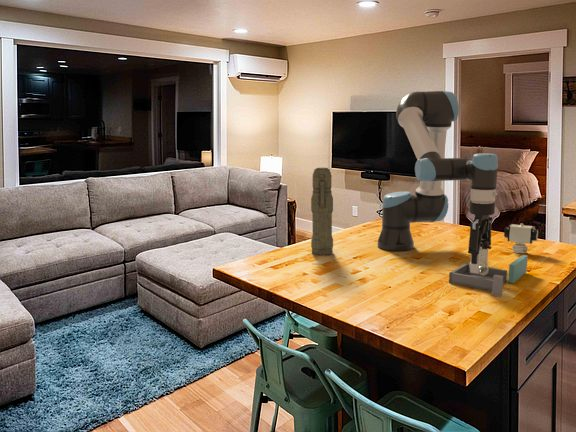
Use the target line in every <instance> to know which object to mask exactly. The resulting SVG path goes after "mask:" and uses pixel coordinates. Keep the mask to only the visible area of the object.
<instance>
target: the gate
mask: <svg viewBox="0 0 576 432" xmlns="http://www.w3.org/2000/svg"><path fill="white" fill-rule="evenodd" d="M528 256H529V255H525V254H522V255H520V256H519V257H518V258H516V259H515V260H514V261H512V262H510V264H508V266H509V267H508V276H507V283H510V284H514V283H515V282H516V281H518V280H519V279H520V278H522V277H523V276H524V275H525V274H526V273H527V270H528V269H527V268H528V259H529V258H528Z"/></svg>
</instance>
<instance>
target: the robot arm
mask: <svg viewBox="0 0 576 432" xmlns="http://www.w3.org/2000/svg"><path fill="white" fill-rule="evenodd" d="M459 107H460V106H459V101H458V98H457V96H456V94H455V93H454V92H451V91H446V90H433V91H432V90H431V91H420V90H419V91H412V92H410V93H408V94H407V95H405V96H404V97H402V98H401V100H400V101H399V103H398V105H397V107H396V112H395V113H396V114H395V115H396V120H397V123H398V124H399V126H400V127H402V128H403V130H404V132H405V135H406V136H407V139H408V141H409V143H410V144H409V145H410V146H411V148H412V151H413V152H414V155H415V158H416V159H417V160H416V162H415V164H414V165H415V166H414V173H415V177H416V179H417V180H418V181H419V186H418V187H417V188H415V191H414V192H415V194H412V193H411V191H406V190H405V191H395V192H394V191H393V192H391V193H390V192H389V193H387V194H385V195H384V196H383V198H382V205H381V207H382V209H381V210H382V213H381V215H382V217H381V221H382V222H381V231H380V233H379V236H378V239H377V247H378V248H379V249H382V250H386V251H392V252H405V251H410V250H413V249H414V247H415V244H414V242H415V241H414V238H413V235H412V232H411V223H434V222H441V221H443V220H444V219H445V218H446V217H447V213H448V211H449V198H448V196H447V195H446V194H445V191H444V189H442V182H443V181H446V182H447V181H471V182H470V183H471V184H470V197H469V200H470V203H469V213H470V214H471V215H474V219H473V222H470V223H469V228H470V229H469V230H470V231H469V239H468V251H467V254H470V261H469V264H470V273H475V274H479V265H480V254H479V250H480V245H481V239H482V237H485V238H490V240H491V241H492V222H493V217H492V215H494V214H495V212H496V203H495V201H496V196H498V192H497V183H498V181H497V180H498V169H499V164H498V161H499V159H498V155H497V154H496V153H488V152H487V153H486V152H485V153H483V152H482V153H481V152H479V153H475V154H473V156H472V157H471V156H464V157H456V158H454V157H451V158H449V157H448V158H447V157H446V158H445V151H446V144H447V143H446V142H447V131H448V130H450V129H451V127H452V123H454V122H455V121H457V120H458V118H459V110H460V108H459ZM491 245H492V242H491V243H488V242H486V244H484V246H483V247H482V249H483V254H481V255H483V257H484V261H483V263H484V264H485V266H487V267H488V257H489V250H491V249H492V246H491Z"/></svg>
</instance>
